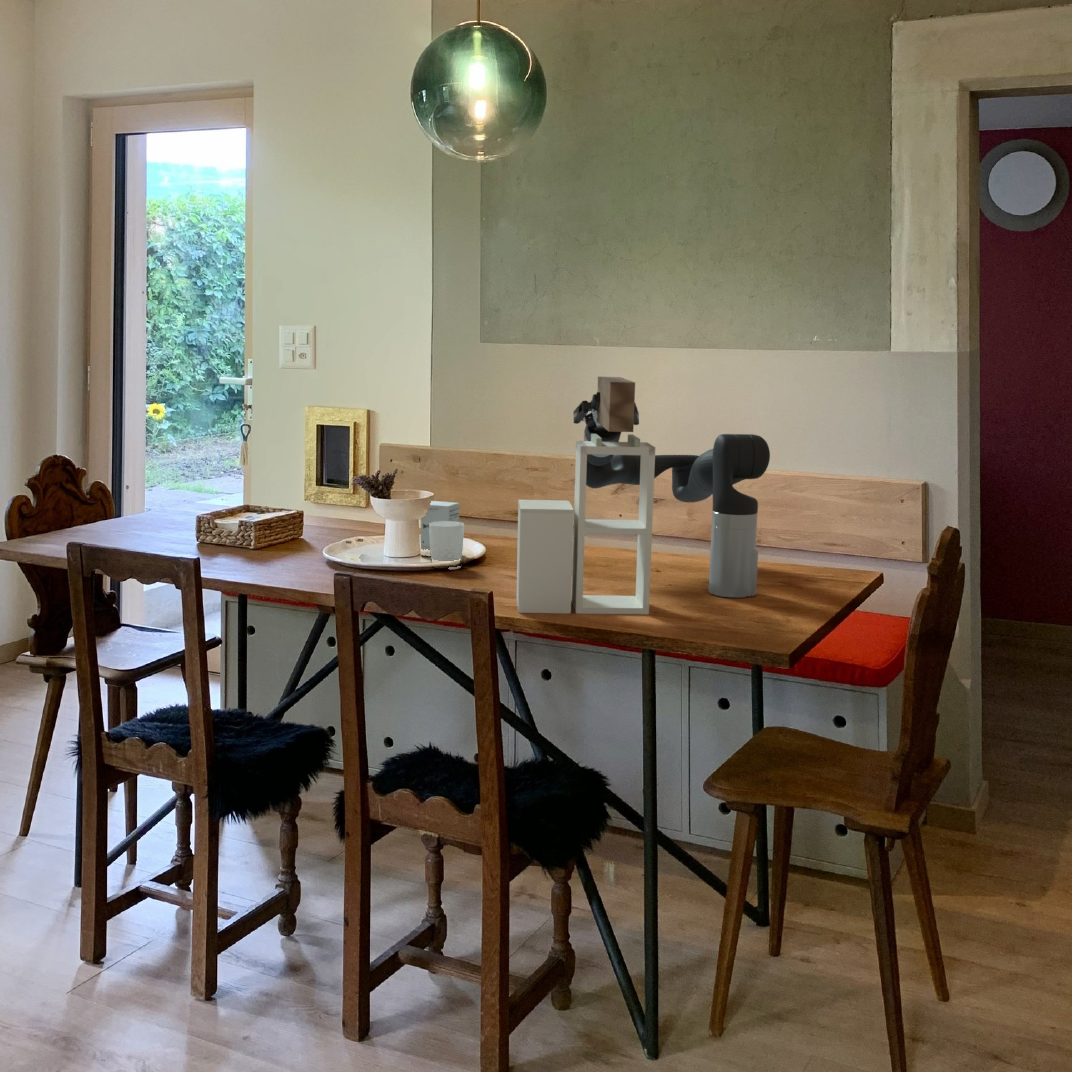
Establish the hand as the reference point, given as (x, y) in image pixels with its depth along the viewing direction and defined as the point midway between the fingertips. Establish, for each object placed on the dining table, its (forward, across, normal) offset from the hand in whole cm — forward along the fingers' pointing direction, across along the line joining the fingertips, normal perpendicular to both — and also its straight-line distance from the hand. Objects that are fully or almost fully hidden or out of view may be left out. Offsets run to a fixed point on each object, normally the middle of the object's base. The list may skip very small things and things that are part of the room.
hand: (611, 396), depth 235 cm
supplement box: (-61, +35, -13) cm, 71 cm away
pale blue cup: (-47, +33, -20) cm, 61 cm away
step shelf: (-14, +5, -39) cm, 42 cm away
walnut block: (+3, 0, -8) cm, 8 cm away
